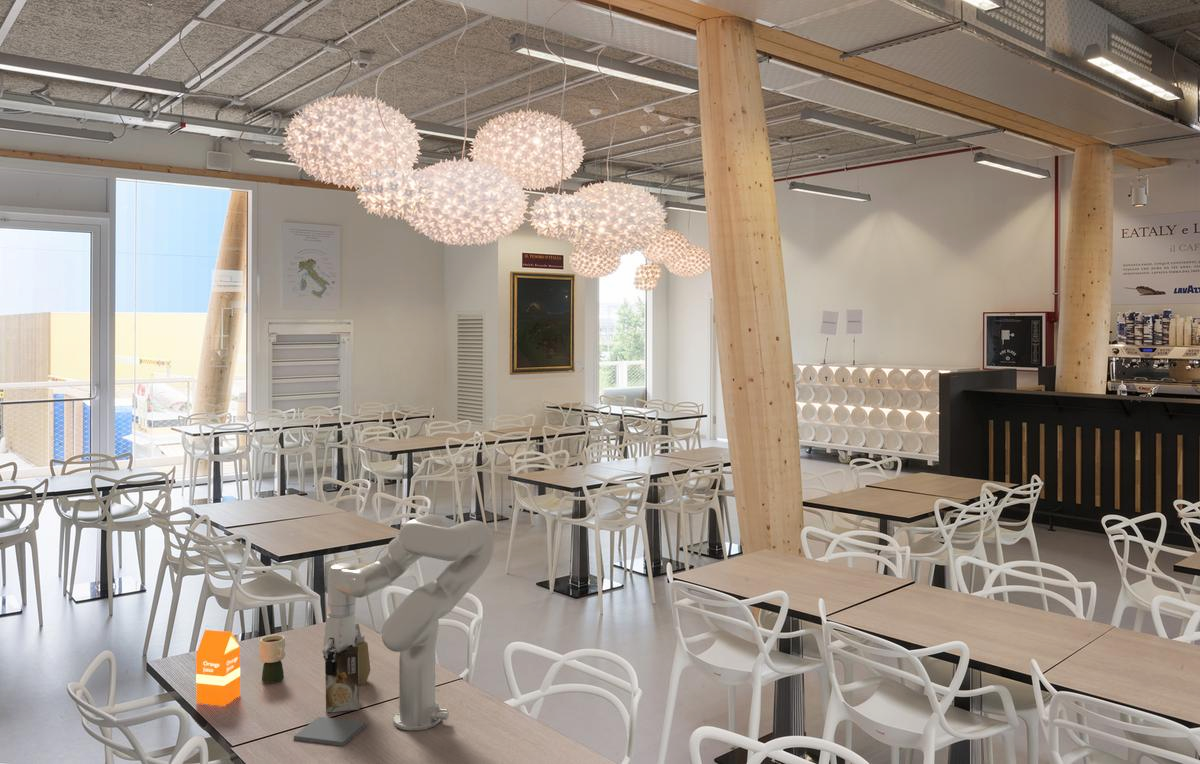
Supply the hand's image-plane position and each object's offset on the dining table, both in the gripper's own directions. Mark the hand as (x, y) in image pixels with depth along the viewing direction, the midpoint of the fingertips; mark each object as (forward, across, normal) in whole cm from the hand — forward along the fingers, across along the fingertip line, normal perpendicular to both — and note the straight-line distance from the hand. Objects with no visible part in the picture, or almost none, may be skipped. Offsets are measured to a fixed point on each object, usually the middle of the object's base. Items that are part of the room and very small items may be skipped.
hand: (340, 668), depth 244 cm
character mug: (+12, -12, -29) cm, 33 cm away
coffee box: (+11, 0, +1) cm, 11 cm away
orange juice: (+12, +4, -36) cm, 38 cm away
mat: (+11, +15, +6) cm, 20 cm away
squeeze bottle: (+11, -17, -4) cm, 21 cm away
